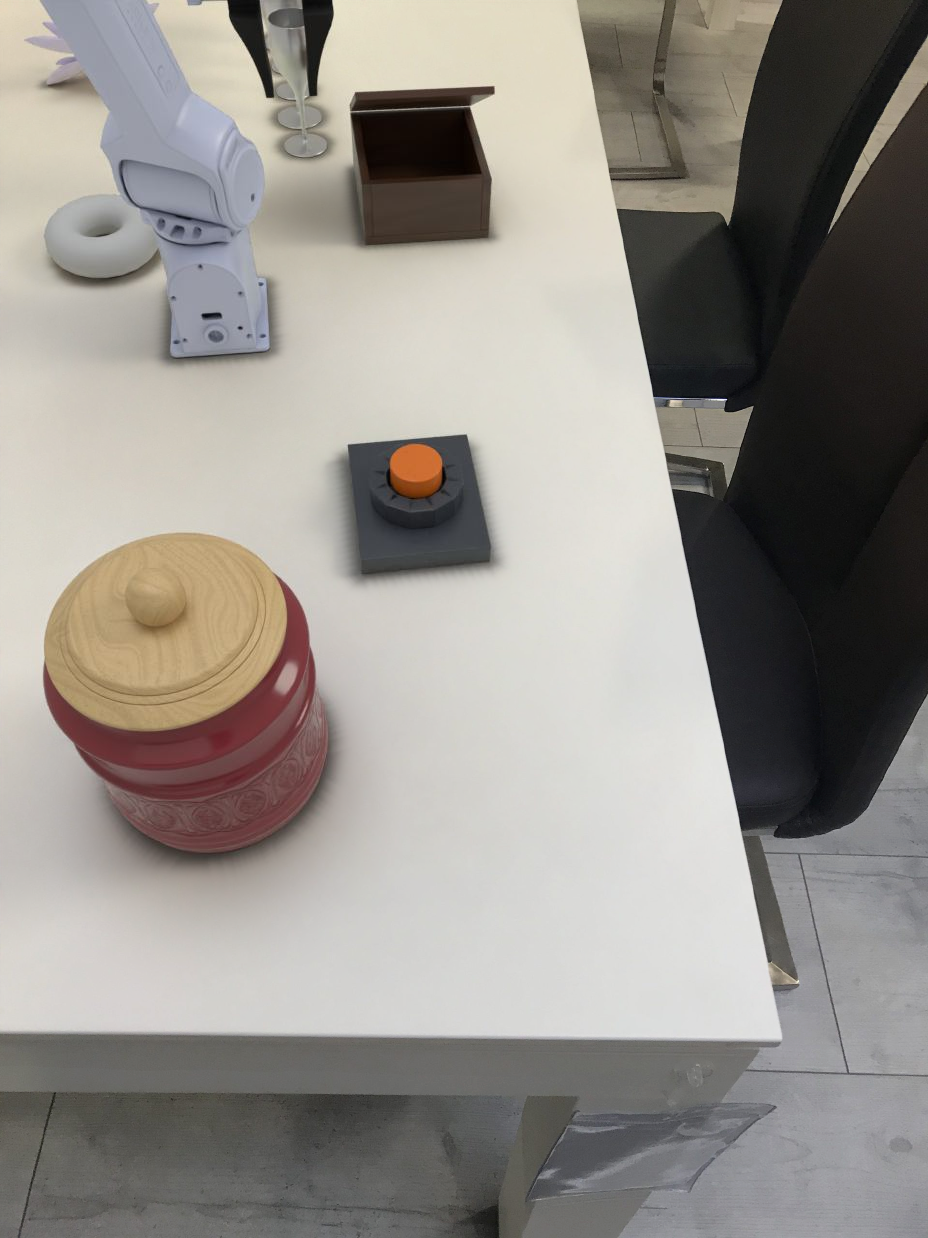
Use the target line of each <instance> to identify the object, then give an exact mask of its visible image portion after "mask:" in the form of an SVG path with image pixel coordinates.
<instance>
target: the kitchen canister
mask: <svg viewBox="0 0 928 1238" xmlns="http://www.w3.org/2000/svg"><path fill="white" fill-rule="evenodd" d="M45 627H46V628H45V630H44V632H45V633H44V638H43V653H44V655H43V656H44V659H43V667H42V668H43V669H42V686H43V694H44V697H45V702H46V704H47V707H48V710H49V712H50V714H51V716H52V718H53V720H54V721H55V723H56V725H57V726H58V728H59V730H60V731H61V732H62V733H63V734H64V735H65V736H66V737H67V738H68V739H69V741H71V742H72V743H73V745H74V747H75V750H76V751H77V753H78V755H79V756H80V758H81V759H82V761H83V762H84V763H85V764H86V766H87V767H88V768H90V770H91V771H92V773H95V775H97V776H98V777H99V778H100V780H101V781H102V782H103V783H104V786H105V788H106V791H107V793H108V795H109V798H110V799H111V801H112V803H113V804H114V806H115V808H117V809H118V811H120V813H121V814H122V816H123V817H124V818H125V819H126V821H127V822H129V823H130V824H131V825H132V826H133V827H134V828H135V829H137V830H138V831H139V832H141V833H142V834H144V835H145V836H147V837H149V838H150V839H153V840H154V841H157V842H159V843H161V844H163V845H165V846H168V847H171V848H173V849H176V850H181V851H184V852H191V853H200V854H211V853H212V854H214V853H216V854H217V853H224V852H230V851H235V850H238V849H242V848H245V847H248V846H251V845H253V844H256V843H259V842H260V841H262V840H265V839H266V838H268V837H269V836H271V835H273V834H275V833H276V832H278V831H279V830H280V829H281V828H283V827H284V826H285V825H287V824H288V823H289V822H290V821H292V820H293V819H294V818H295V817H296V816H297V814H298V813H300V812H301V810H302V809H303V808H304V807H305V805H306V804H307V802H308V801H309V800H310V798H311V797H312V795H313V793H314V791H315V790H316V788H317V786H318V784H319V781H320V779H321V776H322V774H323V770H324V766H325V763H326V758H327V753H328V747H329V726H328V719H327V713H326V709H325V707H324V706H325V705H324V703H323V699H322V697H321V695H320V692H319V691H318V686H317V669H316V661H315V657H314V653H313V649H312V646H311V638H310V637H311V636H310V628H309V623H308V620H307V616H306V613H305V610H304V608H303V605H302V604H301V602H300V600H299V599H298V597H297V596H296V594H295V593H294V591H293V590H292V589H291V587H290V586H289V585H288V584H287V583H286V582H285V581H284V580H283V579H282V578H281V577H280V576H279V575H278V574H277V573H276V572H274V571H273V570H272V569H271V568H270V567H269V566H268V565H267V563H266V562H264V560H263V559H262V558H260V557H259V556H258V555H256V554H255V553H254V552H253V551H251V550H250V549H248V548H246V547H245V546H243V545H242V544H239V543H237V542H235V541H233V540H229V539H227V538H224V537H220V536H216V535H213V534H207V533H199V532H169V533H162V534H156V535H150V536H146V537H142V538H138V539H136V540H133V541H130V542H128V543H125V544H122V545H120V546H118V547H116V548H114V549H112V550H110V551H108V552H106V553H105V554H103V555H101V556H100V557H98V558H97V559H95V560H94V561H92V562H91V563H90V564H88V565H87V566H86V567H85V568H83V570H82V571H80V572H78V574H77V575H76V576H75V577H74V578H73V579H72V580H71V581H70V582H69V584H67V586H66V587H65V589H64V590H63V591H62V592H61V594H60V596H58V599H57V600H56V602H55V604H54V606H53V608H52V610H51V612H50V615H49V617H48V620H47V623H46V626H45Z"/></svg>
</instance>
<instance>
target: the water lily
mask: <svg viewBox="0 0 928 1238" xmlns="http://www.w3.org/2000/svg"><path fill="white" fill-rule="evenodd" d="M148 4H149V6H150V8H151V10H152V12H153V14H154V15H155V12H156V11H157V9H158V8H159V6H160V3H159V2H151V3H148ZM41 24H42V25H43V26H44V27H45V28H46V29H47V30H48V31H49V32H50V33H52V34H53V35H55V36H52V35H34V36H30V37H27V38H24V39H23V41H24V42H25V43H27V44H30V45H32V46H34V47H38V48H41V49H44V50H47V51H52V52H55V53H56V52H57V53H62V54H70V55H71V54H72V55H74V54H73V53H72V51H71V50H70V48H69V46H68V45H67V43H66V42H65V40H64V38H63V37H62V35H61V34H60V32H59V31H58V29H57V27H56V26H55V24H54V23H53V21H43V22H42V23H41ZM55 65H56V66H59V67H57V68H56V69H55V70H53V71H52V72H51V73H50V75H49V76H48V77H47V80H46V85H53V84H56V83H60V82H64V81H67V80H69V79H72V78H73V77H75V76H77V75H79V74H80V73H82V72H83V71H84V70H83V69H82V67H81V65H80V64H79V62H78V61H77V59H76V58H75V56H64V57H62V58H59V59H58V60H57V61H56V62H55Z"/></svg>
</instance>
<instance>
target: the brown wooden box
mask: <svg viewBox="0 0 928 1238" xmlns="http://www.w3.org/2000/svg"><path fill="white" fill-rule="evenodd" d="M349 116H350V117H349V118H350V129H351V130H350V131H351V132H350V133H351V145H352V146H351V147H352V159H353V160H352V161H353V172H354V178H355V185H356V191H357V192H356V193H357V198H358V205H359V211H360V218H361V219H360V220H361V224H362V231H363V238H364V243H365V246H369V245H370V246H371V245H385V244H400V243H401V244H402V243H416V242H417V243H418V242H419V243H420V242H429V241H430V242H433V241H448V240H463V239H464V240H466V239H482V238H489V235H490V218H491V217H490V215H491V202H492V201H491V200H492V183H493V182H492V181H493V178H492V174H491V171H490V168H489V165H488V162H487V161H488V160H487V158H486V154H485V150H484V148H483V144H482V141H481V138H480V135H479V131H478V128H477V125H476V122H475V121H476V120H475V119H474V115H473V112H472V108H471V106H462V107H440V108H418V109H396V110H374V111H352V112H351V111H349Z"/></svg>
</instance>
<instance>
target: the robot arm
mask: <svg viewBox="0 0 928 1238" xmlns="http://www.w3.org/2000/svg"><path fill="white" fill-rule="evenodd" d="M333 1H334V0H302V10H303V19H304V29H305V39H306V68H307V80H308V89H309V96H308V97H317V96H318V81H319V80H318V79H319V71H320V65H321V62H322V61H321V59H322V56H323V52H324V49H325V45H326V41H327V38H328V35H329V33H330V30H331V28H332V25H333V22H334V16H335V10H334V4H333ZM186 2H187V6H190V7H191V6H201V5H202V4H203V2H227V10H228V18H229V21H230V23H231V25H232V27H233V30H234V31H235V32H236V34H237V35H238V37H239V38H240V40H241V42H242V43H243V45H244V46H245V48H246V50H247V52H248V54H249V55H250V58H251V60H252V62H253V64H254V66H255V68H256V70H257V73H258V76H259V78H260V80H261V84H262V86H263V87H262V88H263V91H264V95H265V98H266V99H275V89H274V87H275V86H274V80H273V71H272V66H271V63H270V58H269V53H268V48H266V43H265V39H266V36H265V30H264V21H263V18H262V13H261V5H260V0H186ZM39 3H40V4H41V5H42V7H43V8H44V10H45V11H46V13H47V15H48V16H49V17H50V19H51V22H53V23H54V24H55V26H56V27H57V29H58V31H59V32H60V34H61V35H62V37H63V38H64V40H65V42H66V43H67V45H68V46H69V48H70V50H71V51H72V53H73V54H72V55H73V57H75V58H76V59H77V61H78V62H79V64H80V65H81V67H82V69H83V71H84V74H85V75H86V77H87V78H88V80H89V82H90V83H91V85H92V86H93V88H94V89H95V91H96V92H97V94H98V96H99V97H100V99H101V101H102V102H103V104H104V105H105V108H107V110H108V111H109V112H108V114H107V116H106V120H105V121H104V123H103V128H102V132H101V138H100V144H99V147H100V150H101V151H102V152H103V154H104V156H105V157H106V158H107V160H108V162H109V166H110V168H111V172H112V177H113V180H114V183H115V186H116V188H117V191H118V193H119V195H121V197H122V198H123V199H124V201H125V202H126V203H127V204H129V205H131V206H132V207H136V208H139V209H140V213H141V217H142V220H143V223H145V224H148V225H150V226H152V227H153V229H154V233H155V237H156V240H157V244H158V251H159V255H160V259H161V262H162V267H163V270H164V273H165V277H166V295H167V299H168V303H169V306H170V310H171V324H170V325H171V326H170V347H169V348H170V355H171V357H173V358H191V357H203V356H215V355H216V356H217V355H218V356H219V355H230V354H243V353H257V352H258V353H259V352H266V351H268V350H269V349H270V347H271V345H270V328H269V327H270V326H269V308H268V307H269V306H268V288H267V287H268V286H267V279H266V278H264V277H258V273H257V268H256V262H255V256H254V249H253V246H252V245H253V244H252V240H251V233H250V228H249V226H250V225H251V224H252V222H253V221H254V220H255V218H256V217H257V216H258V215H259V211H260V210H261V207H262V203H263V199H264V194H265V193H264V192H265V170H264V169H265V168H264V164H263V161H262V158H261V155H260V153H259V151H258V149H257V146H256V145H255V144H254V142H253V141H252V140H251V139H248V138H247V137H245V136H244V135H243V134H242V133H241V131H240V130H239V127H238V126H237V124H236V120H234V119H233V118H232V117H231V116H229V115H228V114H226V113H225V112H224V111H222V110H221V109H219V108H218V107H216V106H215V105H213V104H212V103H210V102H208V101H207V100H205V99H204V98H203V97H201V96H199V95H198V94H196V92H194V91H193V90H192V89H191V86H190V84H189V83H188V81H187V79H186V77H185V75H184V73H183V71H182V69H181V66H180V65H179V63H178V60H177V59H176V56H175V55H174V53H173V50H172V48H171V46H170V45H169V43H168V40H167V38H166V37H165V36H166V35H164V33H163V30H162V29H161V26H160V24H159V22H158V20H157V18H156V16H155V13H154V14H153V12H152V10H151V8H150V6H149V4H150V3H149V2H148V1H147V0H39Z"/></svg>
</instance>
